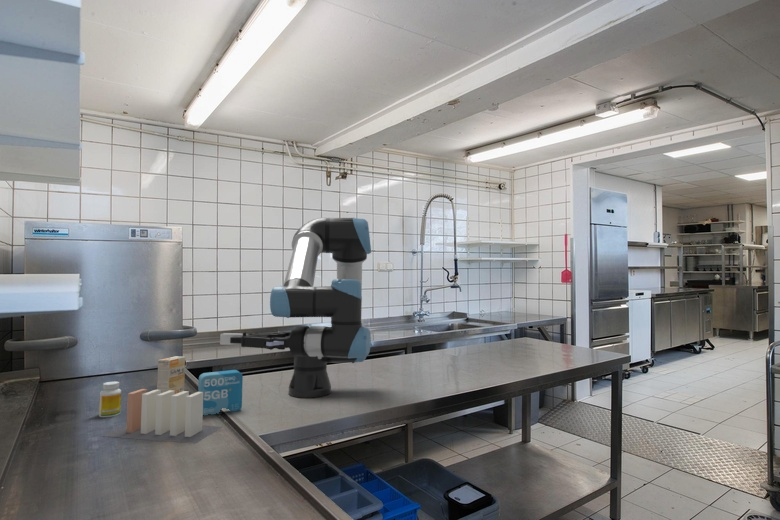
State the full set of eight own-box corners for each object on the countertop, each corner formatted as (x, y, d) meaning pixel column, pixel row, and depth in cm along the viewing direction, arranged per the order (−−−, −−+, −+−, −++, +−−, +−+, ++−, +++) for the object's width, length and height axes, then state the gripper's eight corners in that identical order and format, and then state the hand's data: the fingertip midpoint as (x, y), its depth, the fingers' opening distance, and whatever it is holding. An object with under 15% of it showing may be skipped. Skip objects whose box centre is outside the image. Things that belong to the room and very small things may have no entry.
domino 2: (159, 427, 115) (160, 389, 116) (146, 433, 110) (147, 394, 111) (154, 426, 115) (155, 389, 116) (140, 433, 110) (142, 394, 111)
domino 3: (173, 428, 114) (174, 390, 115) (160, 434, 109) (162, 395, 110) (168, 427, 115) (169, 390, 115) (155, 434, 110) (156, 395, 110)
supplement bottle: (95, 416, 125) (96, 383, 126) (115, 411, 130) (116, 380, 130) (104, 419, 122) (105, 385, 123) (124, 414, 127) (125, 382, 127)
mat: (222, 428, 116) (222, 426, 116) (195, 444, 104) (195, 443, 104) (137, 422, 120) (137, 421, 120) (102, 437, 108) (102, 436, 108)
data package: (200, 417, 125) (201, 376, 125) (197, 413, 129) (198, 373, 129) (242, 411, 131) (242, 371, 132) (238, 407, 135) (239, 369, 136)
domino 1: (145, 426, 116) (147, 389, 116) (131, 432, 111) (133, 393, 111) (140, 426, 116) (141, 388, 116) (126, 432, 111) (127, 393, 112)
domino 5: (202, 430, 113) (203, 392, 113) (190, 436, 108) (191, 397, 109) (196, 429, 113) (197, 391, 114) (184, 436, 108) (185, 396, 109)
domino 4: (187, 429, 114) (188, 391, 114) (175, 435, 109) (176, 396, 109) (182, 428, 114) (183, 390, 114) (169, 435, 109) (171, 395, 109)
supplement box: (168, 399, 144) (169, 360, 144) (156, 398, 145) (157, 359, 145) (184, 393, 152) (186, 356, 152) (173, 392, 153) (174, 355, 153)
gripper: (298, 361, 100) (206, 357, 104) (317, 352, 113) (235, 349, 117) (299, 329, 100) (207, 327, 104) (318, 323, 114) (236, 321, 118)
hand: (222, 338), depth 111 cm, fingers closed
